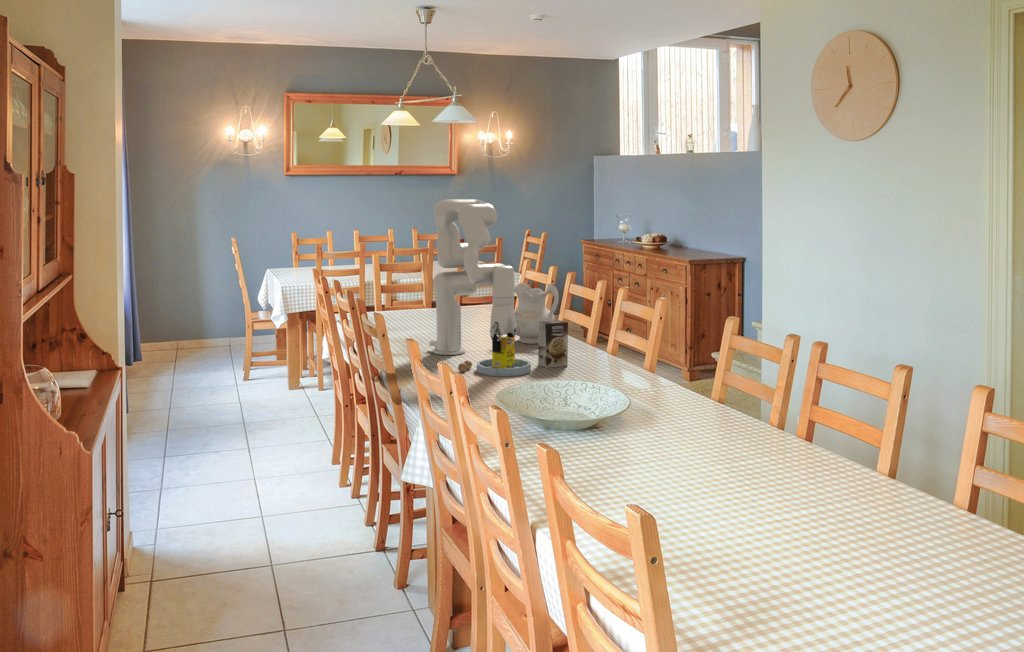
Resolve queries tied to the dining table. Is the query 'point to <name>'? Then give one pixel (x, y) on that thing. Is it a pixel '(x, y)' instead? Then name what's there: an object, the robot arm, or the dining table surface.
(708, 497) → the dining table surface
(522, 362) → the tray
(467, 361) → the bead
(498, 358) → the supplement box
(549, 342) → the coffee box
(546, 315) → the ceramic pitcher
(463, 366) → the bead
